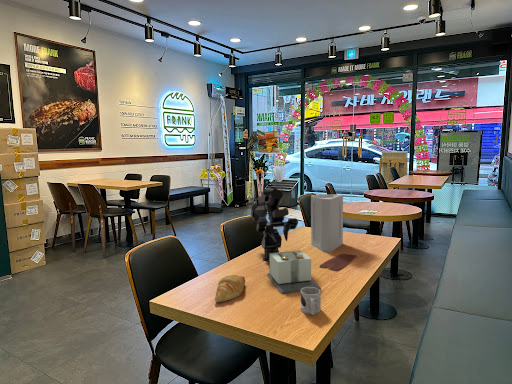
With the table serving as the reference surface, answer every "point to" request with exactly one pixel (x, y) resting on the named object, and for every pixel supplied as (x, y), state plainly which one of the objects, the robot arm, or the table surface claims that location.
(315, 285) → the base plate
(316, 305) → the mug
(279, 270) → the two-slot toaster
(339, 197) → the paper bag
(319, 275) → the table surface
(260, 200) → the robot arm
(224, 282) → the croissant
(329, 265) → the wooden tablet
